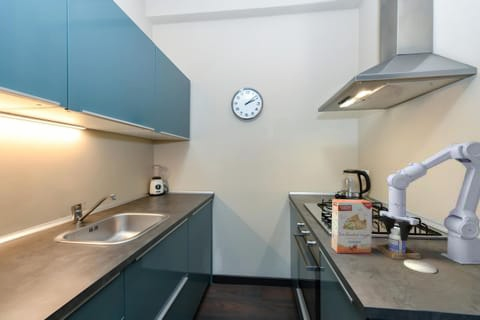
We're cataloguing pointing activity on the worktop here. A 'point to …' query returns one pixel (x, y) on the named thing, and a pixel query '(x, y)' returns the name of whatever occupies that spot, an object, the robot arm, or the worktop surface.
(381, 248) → the socket block
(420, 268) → the white disc
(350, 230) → the cracker box
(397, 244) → the pill bottle
